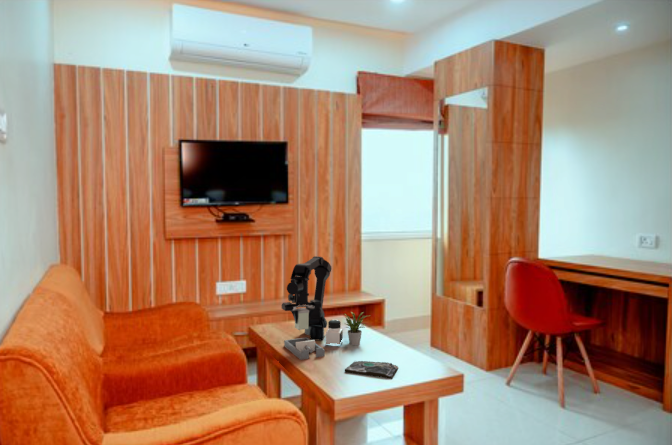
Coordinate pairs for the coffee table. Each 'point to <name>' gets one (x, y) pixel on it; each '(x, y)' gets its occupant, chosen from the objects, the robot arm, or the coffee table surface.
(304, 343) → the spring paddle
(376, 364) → the terrain model
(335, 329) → the medicine bottle
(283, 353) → the coffee table surface
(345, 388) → the coffee table surface
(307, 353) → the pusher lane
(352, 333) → the house plant
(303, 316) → the sage jar
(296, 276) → the robot arm
